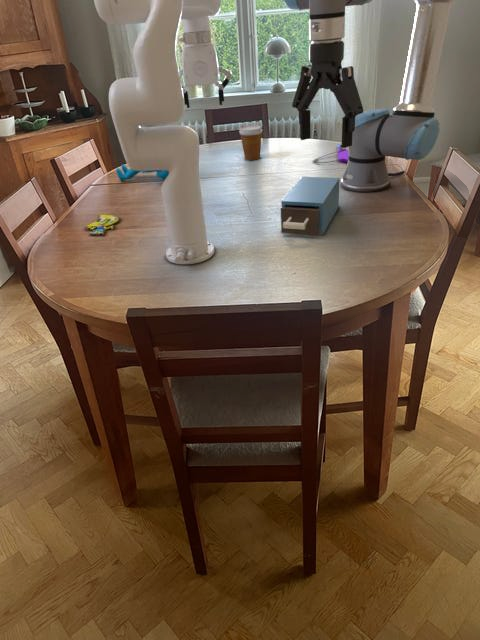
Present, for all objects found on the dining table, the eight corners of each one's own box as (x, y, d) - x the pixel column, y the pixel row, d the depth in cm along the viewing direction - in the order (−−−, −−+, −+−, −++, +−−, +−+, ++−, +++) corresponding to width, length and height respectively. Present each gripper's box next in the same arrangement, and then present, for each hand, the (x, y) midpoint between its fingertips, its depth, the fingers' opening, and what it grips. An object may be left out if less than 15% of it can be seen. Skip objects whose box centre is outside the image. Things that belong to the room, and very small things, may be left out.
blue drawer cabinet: (322, 235, 128) (323, 203, 124) (282, 232, 132) (281, 200, 127) (338, 207, 145) (339, 177, 140) (302, 205, 149) (302, 176, 144)
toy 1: (75, 232, 142) (99, 213, 154) (76, 234, 142) (100, 215, 154) (106, 232, 139) (128, 213, 151) (107, 235, 140) (128, 216, 152)
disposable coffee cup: (238, 160, 197) (235, 130, 191) (244, 154, 205) (242, 125, 198) (260, 160, 194) (258, 129, 188) (266, 154, 202) (264, 124, 195)
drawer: (312, 244, 121) (312, 218, 118) (274, 241, 125) (273, 216, 121) (333, 208, 141) (334, 185, 138) (300, 206, 145) (300, 184, 141)
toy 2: (125, 157, 192) (192, 136, 181) (136, 182, 197) (202, 163, 186) (107, 170, 178) (179, 147, 168) (120, 197, 183) (190, 177, 173)
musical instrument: (326, 170, 180) (372, 154, 183) (325, 164, 178) (371, 148, 182) (297, 161, 200) (339, 146, 204) (296, 155, 199) (338, 141, 202)
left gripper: (165, 42, 130) (174, 110, 139) (228, 37, 130) (233, 105, 139) (168, 41, 136) (177, 106, 146) (228, 36, 136) (233, 101, 145)
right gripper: (275, 43, 111) (279, 139, 122) (359, 42, 93) (354, 154, 105) (299, 39, 114) (300, 133, 126) (384, 38, 97) (377, 146, 109)
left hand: (204, 105), depth 142 cm, fingers open, 9 cm apart
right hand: (325, 142), depth 115 cm, fingers open, 13 cm apart
